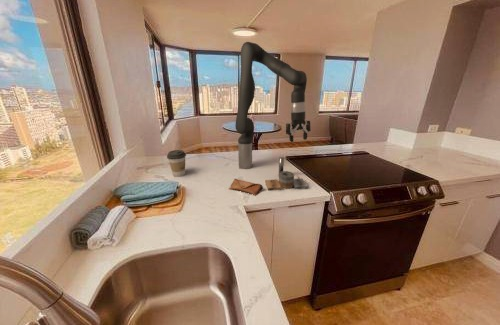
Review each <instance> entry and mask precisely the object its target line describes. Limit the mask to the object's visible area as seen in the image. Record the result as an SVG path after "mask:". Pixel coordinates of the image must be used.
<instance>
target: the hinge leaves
mask: <svg viewBox="0 0 500 325" xmlns="http://www.w3.org/2000/svg"><path fill="white" fill-rule="evenodd" d="M278 175H279V176H278V179H277V178H274V179H265V181H264V182H265V186H266V190H267V191H282V189H285V190H287V189H293V188H294V190H306V189H307V190H308V189H309V185H308V184H307V183H306V181H305V180H304V179H303V178H302V177H301V178H295V173H294V172H293V171H290V170H289V171H288V170H283V171H282V172H280V173H279V172H278Z"/></svg>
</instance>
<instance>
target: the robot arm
mask: <svg viewBox="0 0 500 325" xmlns="http://www.w3.org/2000/svg"><path fill="white" fill-rule="evenodd" d="M253 62H256V63H259V64H262V65H264V66H265V67H266V68H268V69H269V70H270V71H271V72H272V73H274V74H275V75H277V76H278V77H280V78H282V79H283V80H284V81H285V82H287V83H288V84H290V85H291V86H293V90H292V92H290V93H291V94H290V104H291V105H290V120H291V121H290V123H289V122H287V123H286V124H285V134H286V135H288V136H289V141H290V143H294V133H296V132H297V131H299V130H300V131H301V130H302V132H303V133H302V134H303V135H302V136H303V140H304V141H305V140H307V138H308V133H309V132H311V121H310V120H309V119H307V120H306V94H305V93H306V87H307V81H308V80H307V79H308V78H307V74H306V72H305V71H303V70H297V69H295V68H293V67H291V65H290V64H288V63H287V62H285V61H284V60H281V59H280V58H278V57H276V56H274V55H272V54H270V53H269V52H268V51H266V50H265V49H264V48H263V47H261V46H260V45H259V44H257V43H255V42H250V41H246V42H245V41H244V43H243V44H242V46H241V49H240V75H239V76H240V77H239V90H238V102H237V103H238V104H237V112H236V117H235V118H236V119H235V123H234V125H235V131H236V132H237V133H238V134H240V136H239V137H238V139H237V143H238V144H237V148H238V149H237V150H238V168H239V169H242V170H248V169H251V168H252V167H253V140H254V132H255V129H254V128H255V127H254V126H255V125H254V121H253V119H252V118H250V117H248V114H249V110H250V109H251V106H252V104H253V102H254V98H255V94H256V93H255V92H256V82H255V80H254V76H253Z"/></svg>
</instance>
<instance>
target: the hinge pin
mask: <svg viewBox="0 0 500 325" xmlns="http://www.w3.org/2000/svg"><path fill="white" fill-rule="evenodd" d="M278 158H279V159H278V174H277V175H278V177H279V173H280V172H282V171H284V165H285V164H284V163H285V157H284V156H279V157H278Z"/></svg>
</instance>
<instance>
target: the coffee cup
mask: <svg viewBox="0 0 500 325" xmlns="http://www.w3.org/2000/svg"><path fill="white" fill-rule="evenodd" d="M186 157H187V154H186V152H185V151H184V150H182V149H174V150H170V151H169V152H168V154H167V155H166V159H167V160H168V163H169V166H170V169H171V174H172V175H173V176H174V177H175V178H179V177H183V176H185V174H186Z"/></svg>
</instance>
